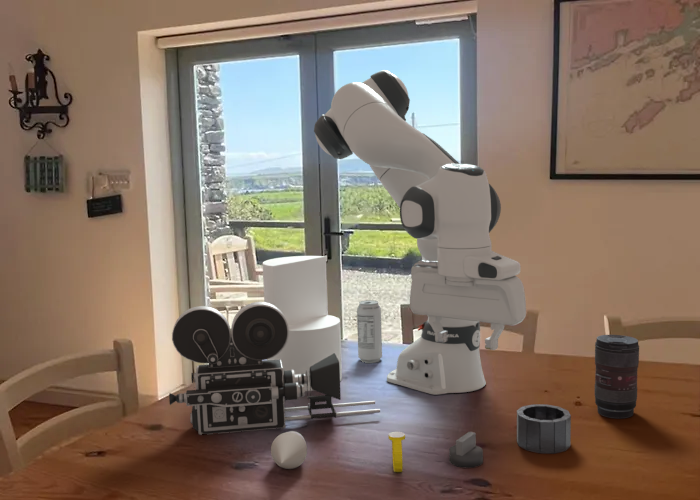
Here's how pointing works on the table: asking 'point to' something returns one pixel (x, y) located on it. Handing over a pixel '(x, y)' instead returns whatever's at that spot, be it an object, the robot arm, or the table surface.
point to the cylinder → (302, 311)
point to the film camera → (248, 371)
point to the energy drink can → (369, 331)
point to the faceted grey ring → (543, 428)
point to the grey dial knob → (466, 452)
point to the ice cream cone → (289, 450)
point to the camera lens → (616, 375)
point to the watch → (397, 450)
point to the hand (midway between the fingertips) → (465, 345)
